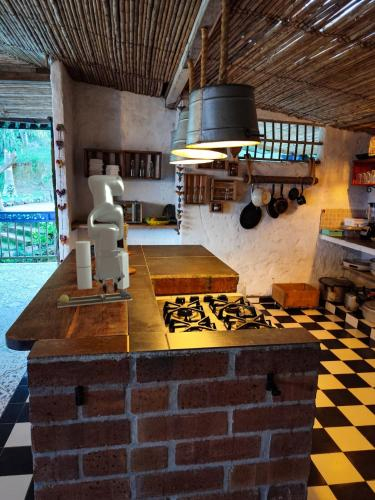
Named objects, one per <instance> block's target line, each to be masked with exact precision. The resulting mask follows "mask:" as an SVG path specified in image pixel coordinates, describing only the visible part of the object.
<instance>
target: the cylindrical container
mask: <svg viewBox="0 0 375 500" xmlns="http://www.w3.org/2000/svg"><path fill="white" fill-rule="evenodd" d="M74 244H75V245H74V246H75V261H76V262H75V263H76V278H77V279H76V280H77V290H88V289H90V290H91V289H93V275H92V261H91V260H92V258H91V257H92V256H91V241H89V240H79V241H78V240H77V241H75V242H74Z"/></svg>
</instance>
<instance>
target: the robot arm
mask: <svg viewBox="0 0 375 500" xmlns="http://www.w3.org/2000/svg"><path fill="white" fill-rule="evenodd" d="M87 183H88V187H89V189H90V190H89V191H90V192H91V195H92V198H93V209H92V210H91V211H90V213H89V214H88V217H87V235H88V238H89V240H91V241H93V242H94V243H93V245H94V261H95V264H94V265H95V274H94V275H92V279H94V280H95V281H97V282H99V284H101V285H102V291H103V292H104V294H107V291H106V286H107V284H106V281H110V280H113V278H114V280H115V282H114V291H113V292H114V293H117V291H118V290H119V289H118V287H117V284H118V282H119V281H120V280H121V279H123V278H124V277H125V275H124V274H123V273H122V271H121V267H120V260H119V256H118V255H117V254H119V253H120V251H119V250H117V248H118V243H117V242H118V241H121V240H123V238H124V235H125V228H124V225H125V224H124V223H125V221H124V209H123V207H122V206H121V205H120V204H114V197H116V196H118V197H119V196H123V195H124V194H125V193H124V192H125V186H124V181H123V179H122V177H121V176H120V175H114V174H111V175H110V174H109V175H108V174H104V175H103V174H94V175H90V176H89V177H88V179H87ZM94 221H97V222H100V223H97V224H94ZM108 222H109V223H108Z"/></svg>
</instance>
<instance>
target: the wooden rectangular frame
mask: <svg viewBox="0 0 375 500" xmlns="http://www.w3.org/2000/svg"><path fill="white" fill-rule="evenodd" d="M109 294H110V295H103V294H102V295H103V298H104V301H105V302H108V301H118V300H128V299H131V298H132V295H131V293H130V292H128V297H119V296H120V295H119V294H117V293H109ZM109 297H118V298H109ZM106 298H108V299H106ZM128 301H129V300H128ZM118 302H119V301H118ZM108 303H109V302H108Z"/></svg>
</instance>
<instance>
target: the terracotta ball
mask: <svg viewBox="0 0 375 500" xmlns="http://www.w3.org/2000/svg"><path fill="white" fill-rule="evenodd" d="M113 292H114V286H113V284H106V293H107V294H108V293H109V294H113Z"/></svg>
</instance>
